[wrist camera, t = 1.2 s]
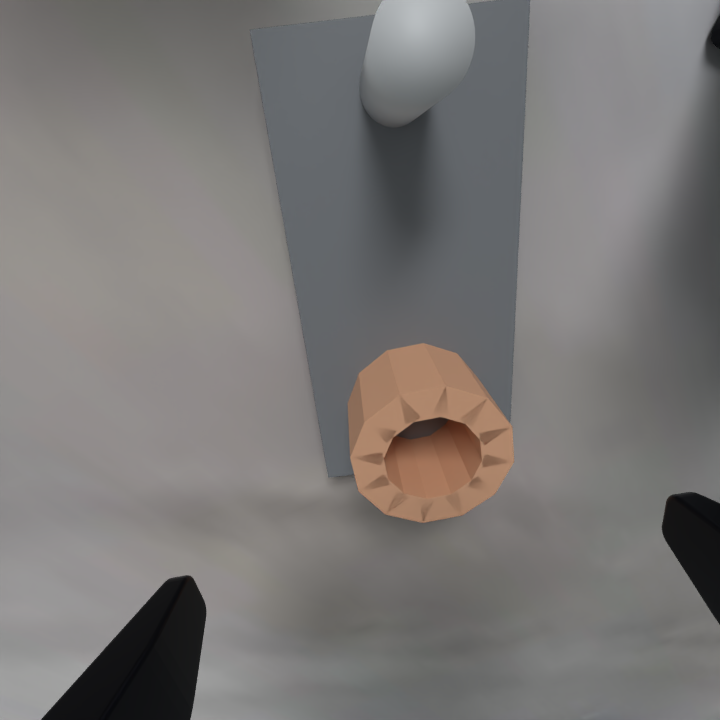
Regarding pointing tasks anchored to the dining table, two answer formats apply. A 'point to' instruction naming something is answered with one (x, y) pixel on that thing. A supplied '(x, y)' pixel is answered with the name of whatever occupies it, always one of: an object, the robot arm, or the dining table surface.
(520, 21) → the board
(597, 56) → the dining table surface
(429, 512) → the ring
